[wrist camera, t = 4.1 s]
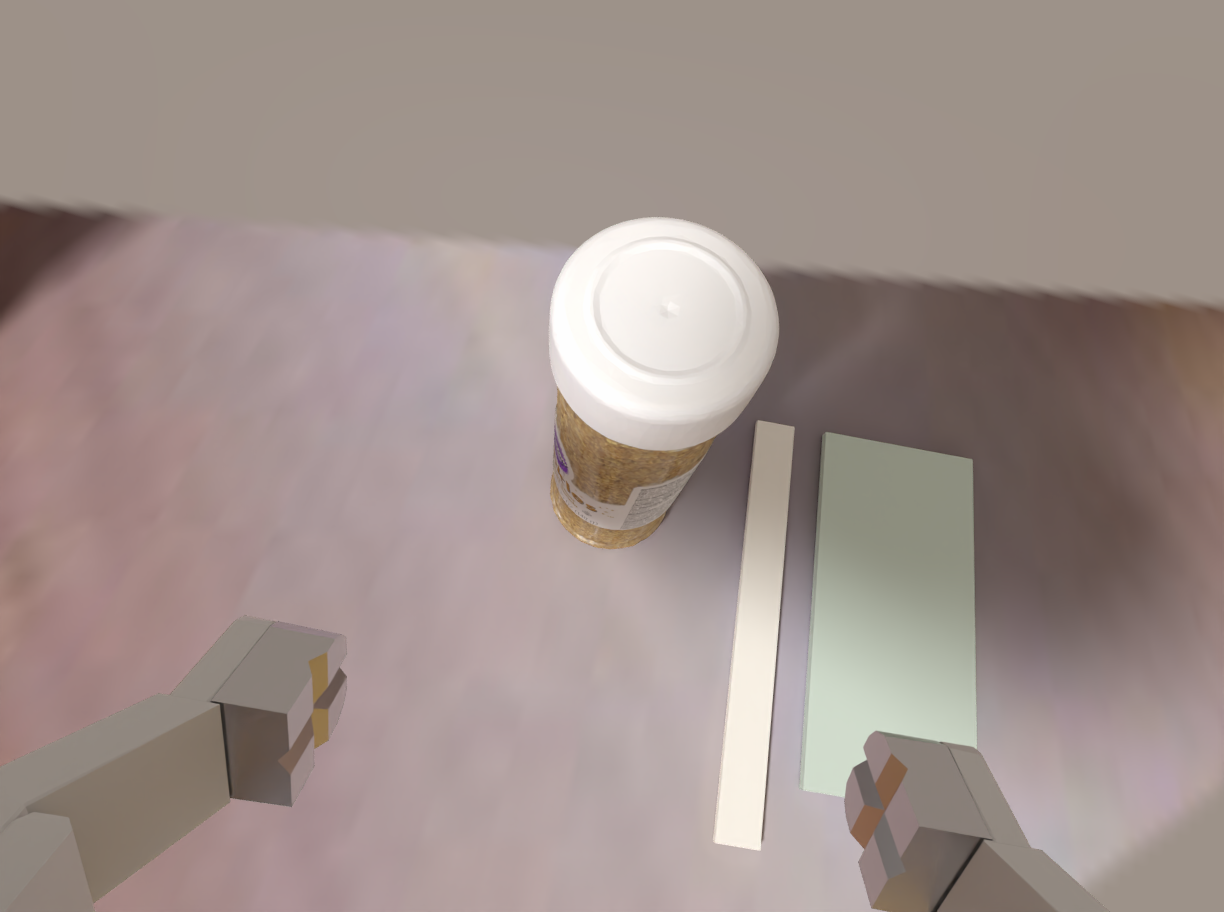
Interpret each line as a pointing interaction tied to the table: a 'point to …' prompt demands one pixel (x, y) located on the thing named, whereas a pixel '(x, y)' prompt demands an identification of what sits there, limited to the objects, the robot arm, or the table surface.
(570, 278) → the sprinkles bottle
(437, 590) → the table surface
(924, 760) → the robot arm
